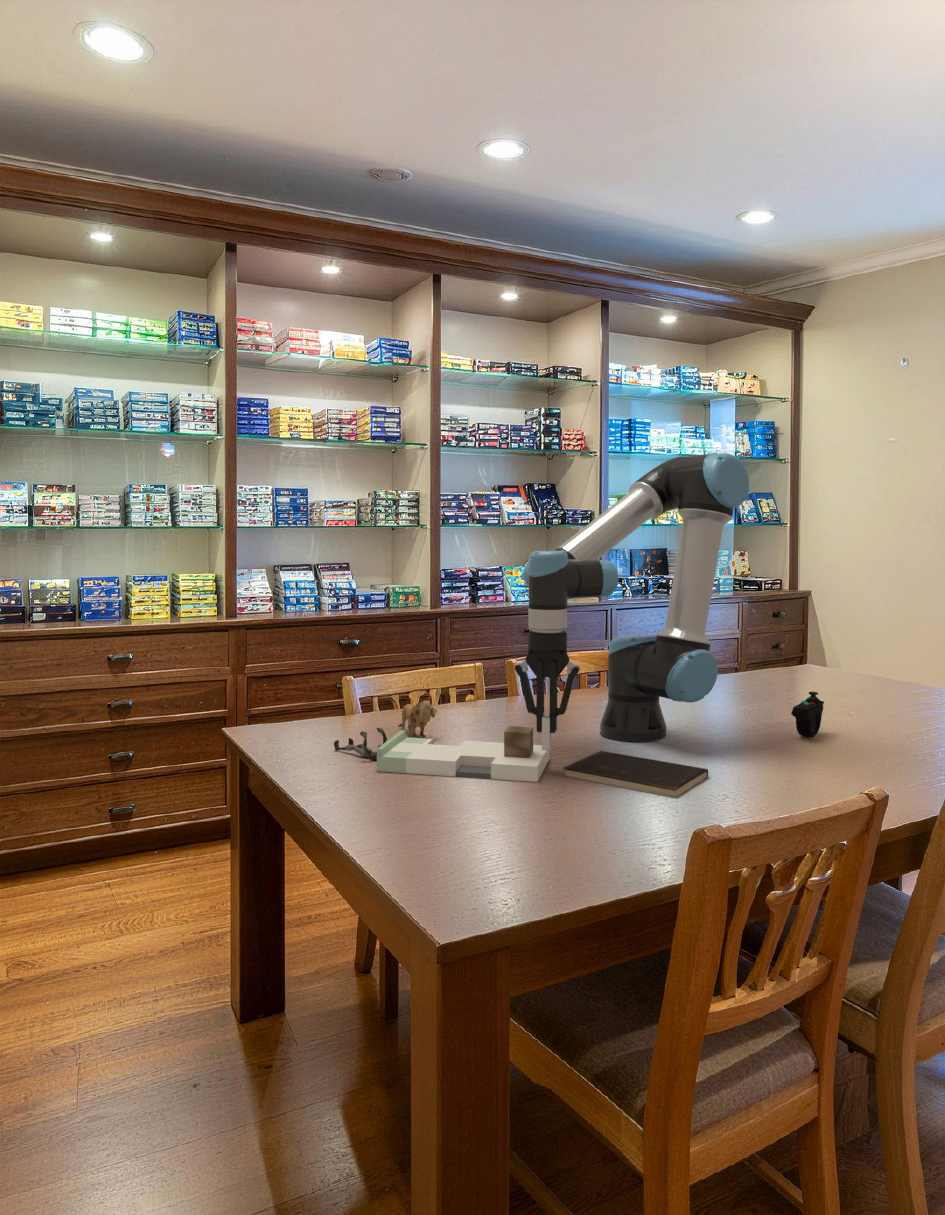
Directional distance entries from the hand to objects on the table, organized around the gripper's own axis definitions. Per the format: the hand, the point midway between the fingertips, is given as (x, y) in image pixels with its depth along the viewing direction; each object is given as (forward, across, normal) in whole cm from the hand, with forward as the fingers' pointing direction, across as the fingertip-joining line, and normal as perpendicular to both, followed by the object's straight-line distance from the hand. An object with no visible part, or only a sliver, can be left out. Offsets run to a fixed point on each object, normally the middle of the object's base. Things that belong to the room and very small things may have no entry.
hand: (546, 748), depth 169 cm
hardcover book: (+5, -17, 0) cm, 18 cm away
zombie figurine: (+5, +39, -3) cm, 40 cm away
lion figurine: (+5, +34, -22) cm, 41 cm away
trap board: (+5, +16, 0) cm, 17 cm away
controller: (+5, -55, -40) cm, 68 cm away
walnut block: (+2, +6, 0) cm, 6 cm away
